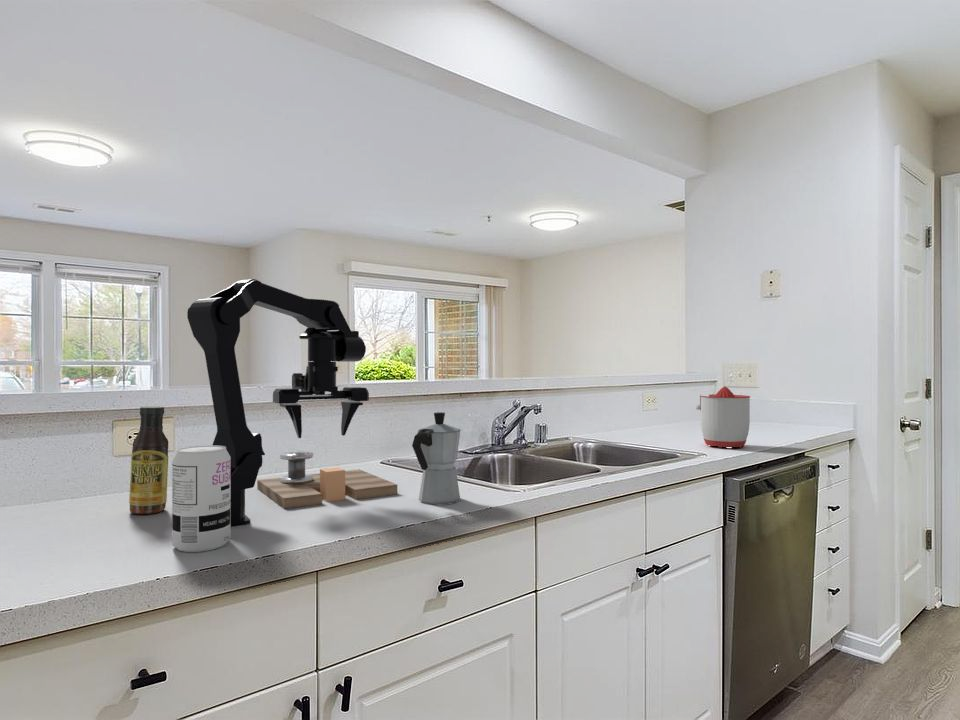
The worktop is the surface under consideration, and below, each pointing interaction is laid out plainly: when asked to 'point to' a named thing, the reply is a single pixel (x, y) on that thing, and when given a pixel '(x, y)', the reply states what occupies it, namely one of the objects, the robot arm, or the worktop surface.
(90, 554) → the worktop surface
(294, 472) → the bobbin
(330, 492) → the block
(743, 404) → the citrus juicer
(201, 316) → the robot arm
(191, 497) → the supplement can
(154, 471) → the sauce bottle
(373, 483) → the board
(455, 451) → the coffee maker
